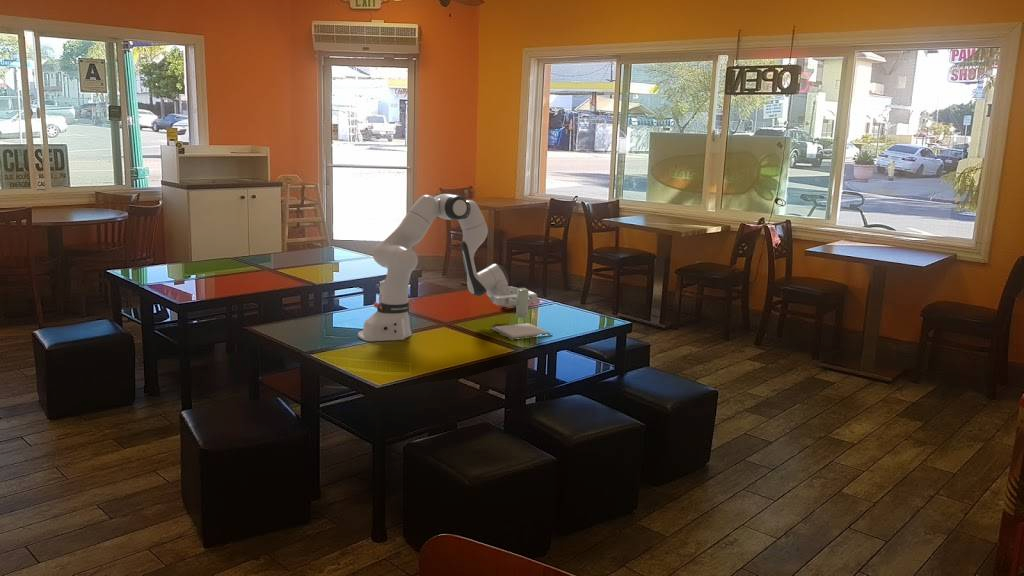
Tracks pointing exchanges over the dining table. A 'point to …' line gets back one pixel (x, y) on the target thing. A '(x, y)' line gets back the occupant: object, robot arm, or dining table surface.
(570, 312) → the dining table surface
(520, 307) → the grey upright block
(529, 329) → the tile
